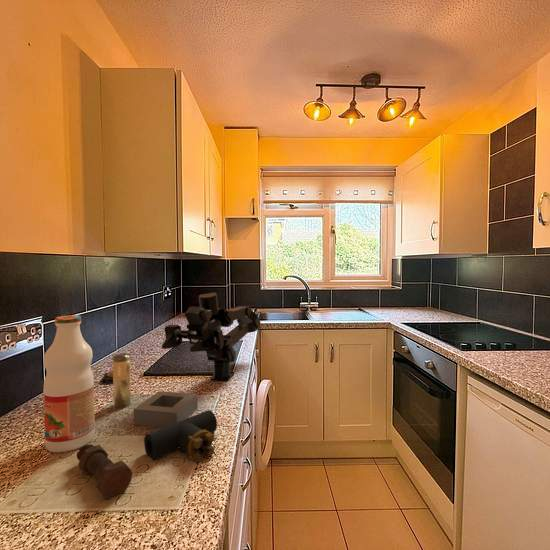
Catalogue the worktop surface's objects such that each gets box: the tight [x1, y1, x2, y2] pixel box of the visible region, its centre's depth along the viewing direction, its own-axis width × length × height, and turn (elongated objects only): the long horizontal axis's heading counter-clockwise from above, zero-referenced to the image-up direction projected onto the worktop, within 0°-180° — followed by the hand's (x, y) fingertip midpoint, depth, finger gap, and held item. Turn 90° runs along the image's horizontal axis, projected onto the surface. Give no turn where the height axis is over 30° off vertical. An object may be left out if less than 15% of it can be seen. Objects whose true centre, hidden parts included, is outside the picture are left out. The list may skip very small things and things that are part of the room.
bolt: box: [76, 444, 134, 501], centre depth 60 cm, size 6×5×15 cm
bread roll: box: [100, 369, 113, 386], centre depth 111 cm, size 11×8×4 cm
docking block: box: [133, 390, 198, 429], centre depth 83 cm, size 11×11×4 cm
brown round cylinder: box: [112, 353, 132, 409], centre depth 90 cm, size 4×4×14 cm
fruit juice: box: [42, 314, 96, 453], centre depth 71 cm, size 9×9×28 cm
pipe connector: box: [143, 409, 218, 463], centre depth 69 cm, size 12×5×15 cm
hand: (176, 348), depth 88 cm, fingers open, 9 cm apart
